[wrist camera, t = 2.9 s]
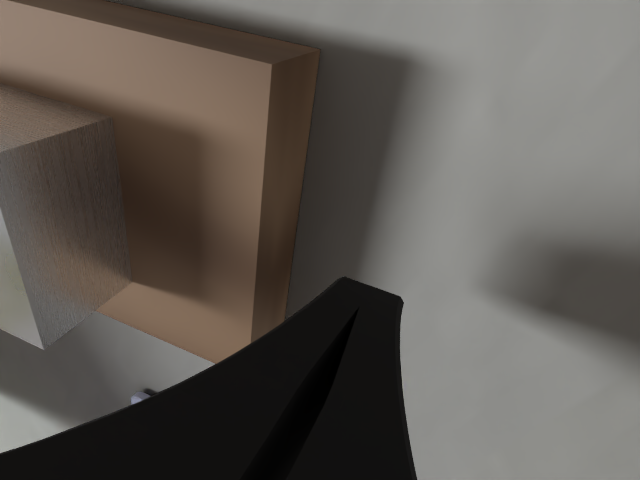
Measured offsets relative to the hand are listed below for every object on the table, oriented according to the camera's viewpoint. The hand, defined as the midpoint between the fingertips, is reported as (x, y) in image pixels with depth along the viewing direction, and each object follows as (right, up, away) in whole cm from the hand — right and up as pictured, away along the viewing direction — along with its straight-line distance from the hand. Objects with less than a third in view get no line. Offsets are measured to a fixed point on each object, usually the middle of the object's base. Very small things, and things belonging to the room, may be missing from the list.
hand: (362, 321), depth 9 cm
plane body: (-10, +5, +5) cm, 12 cm away
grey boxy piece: (-9, +4, +3) cm, 10 cm away
